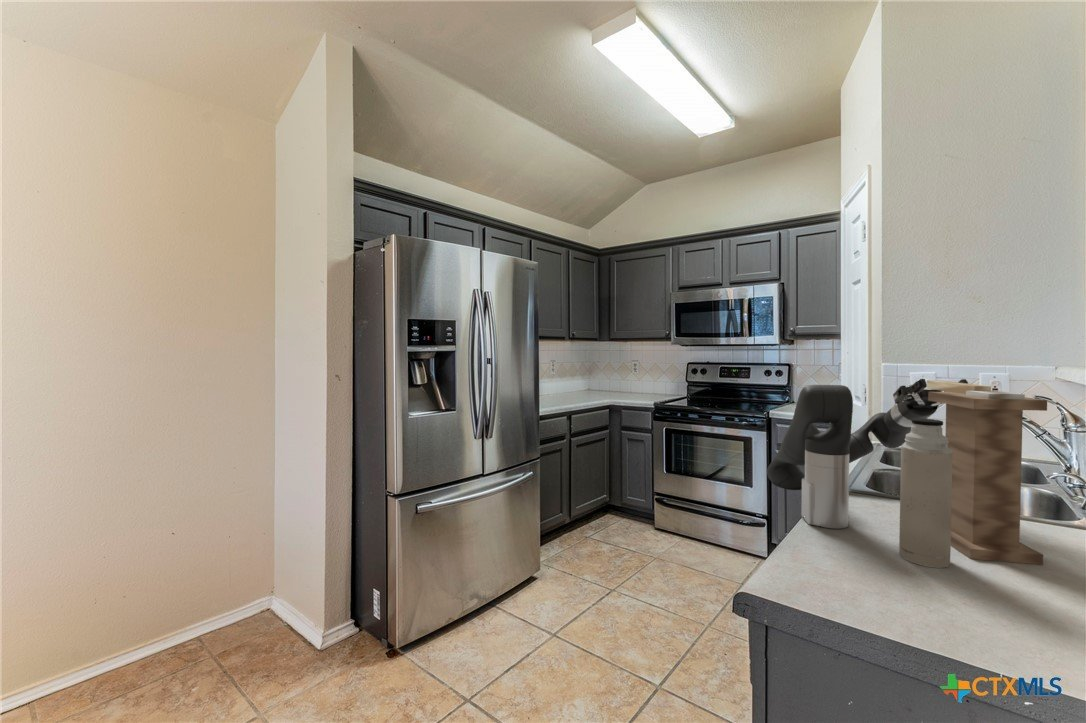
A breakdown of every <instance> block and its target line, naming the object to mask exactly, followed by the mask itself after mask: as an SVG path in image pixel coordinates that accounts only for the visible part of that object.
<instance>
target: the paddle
mask: <svg viewBox="0 0 1086 723" xmlns="http://www.w3.org/2000/svg"><path fill="white" fill-rule="evenodd" d="M958 382H959V381H958ZM958 382H956V381H948V380H947V381H946V380H932V379H930V380H926V384H927V386H926V389H927V390H931V389H933V390H940V391H942V392H944V391H947V392H954V393H961V394H966V395H967V396H973V397H980V398H987V399H1025V396H1026V395H1025V394H1024V393H1016V392H1009V391H1001V390H992V386H991V385H983V384H975V383H968V384H967V383H958Z"/></svg>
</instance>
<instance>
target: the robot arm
mask: <svg viewBox="0 0 1086 723" xmlns="http://www.w3.org/2000/svg"><path fill="white" fill-rule="evenodd" d="M958 383H967V384H969V382H968V381H967V379H965V378H964V379H963V378H962V379H960V380H958ZM928 392H947V391H940V390H934V389H927V380H926V379H925V378H920V379H918V380H916V381H915V382H913V384H910V385H909V386H906V385H900V386H899V387H898V388H897V389H896V390H895V392H894V393H893V394H892V395H893V400H894V404H893V406H892V407H891V408H890V409H889V410H887V411H886V412H878V413H875V414H874V415H872V417H870V418H868V420H867V422H865V423H864V424H863V425H862V426H861V427H860V428H859V429H857V430H855V431H854V432H852V422H853V421H852V420H853V412H854V402H853V401H854V400H853V395H852V392H851V390H850V388H849V387H848V386H846V385H841V384H809V385H805V386H803V388H802V389H801V390H800V393H799V394H798V398H797V401H796V405H795V408H794V411H793V412H794V413H793V416H792V418H791V422H790V424H789V426H788V429H787V431H786V433H785V434H784V436H783V440H782V443H781V445H780V446H779V449H778V452H777V453H776V455H775V457H773V459H772V461H771V462H770V464H769V466H767V470H766V474H767V477H768V479H769V481H770V482H771V483H772V485H774V486H776V487H778V488H781V489H784V490H789V491H801V507H800V508H801V510H800V511H801V517H802V518H803V517H804V516H805V517H804V518H803V520H805V521H806V523H807V524H808V525H813V526H817V527H820V526H821V527H822V528H826V529H846V528H847V527H848V526H849V518H850V517H849V516H850V515H849V510H850V509H849V507H850V506H849V504H850V503H849V499H850V497H849V494H850V464H851V463H852V462H853V463H854V462H855V461H858V460H859V459H861V458H864V457H865V456H867V455H869V454H871V453H873V451H874V449H875V448H874V445H873V444H874V443H872V441H871V440H872V439H870V435H869V434H870V432H871V433H872V434H873V436H874V437H875V438H876V439H877V440H878V441H879V443H880V444H881V445H882V446H883V447H885V448H887V449H897V448H901V445H903V444H905V443H906V441H905V438H906V434H908V433H910V432H911V426H912V419H929V417H931V416H932V415H933V414H935V413H936V412H937V410H938V408H939V406H940V405H941V404H943V403H939V402H934V401H929V400H928ZM815 424H830V425H829V427H828V428H827V429H826V430H824V431H822V432H821V431H820V430H819V428H818V427H817V426H816V425H815ZM803 465H804V472H803V471H802V470H801V468H800V467H799V466H803Z"/></svg>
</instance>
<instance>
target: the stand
mask: <svg viewBox="0 0 1086 723" xmlns="http://www.w3.org/2000/svg"><path fill="white" fill-rule="evenodd" d="M928 400H929V401H934V402H939V403H942V404H945V433H944V434H945V435H944V436H945V437H947V438H948V441H949V443H948V448H949V449H951V450H952V451H953V456H952V503H951V548H953V549H955V550H956V551H957V552H959V553H961V554H962V555H964V556H966V557H967V558H968V559H969V560H980V561H982V560H983V561H994V562H1004V563H1005V562H1007V563H1018V564H1029V565H1031V564H1032V565H1041V566H1043V565H1044V554H1043V553H1041V552H1040V551H1038V550H1036V549H1034V548H1032V547H1030V546H1028V545H1026V544H1024V543H1023V542H1020V539H1021V538H1020V535H1021V532H1020V529H1021V500H1022V499H1021V497H1022V496H1021V495H1022V494H1021V493H1022V491H1021V490H1022V459H1023V458H1022V456H1023V455H1022V453H1023V452H1022V451H1023V416H1024V415H1023V414H1024V411H1040V412H1041V411H1048V400H1047V399H1041V398H1033V397H1025V399H987V398H980V397H973V396H967V395H966V394H961V393H954V392H944V391H942V392H928Z"/></svg>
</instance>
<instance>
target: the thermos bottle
mask: <svg viewBox="0 0 1086 723" xmlns="http://www.w3.org/2000/svg"><path fill="white" fill-rule="evenodd" d="M943 425H944V421H943V420H941V419H940V420H939V419H931V418H927V419H912V426H911V432H910V433H908V434H906V438H905V441H906V442H905V443H904V444H903V445H901V446H900V488H899V490H900V491H899V493H900V494H899V536H898V538H899V539H898V541H899V543H898V549H899V550H898V551H899V552H898V554H899V556H900V557H901V558H902V559H904V560H906V561H907V562H910V563H912V564H917V565H920V566H923V567H928V568H935V569H936V568H938V569H939V568H940V569H941V568H942V569H945V568H948V567H950V566H951V548H952V546H951V503H952V456H953V451H952V450H951V449H949V448H948V443H949V441H948V438H947V437H945V435H943V427H942V426H943Z"/></svg>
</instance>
